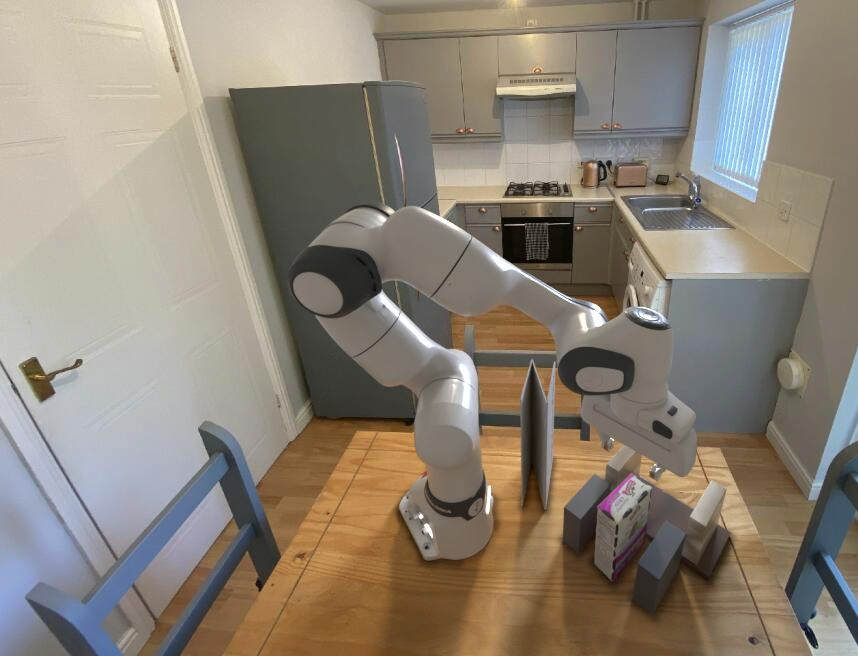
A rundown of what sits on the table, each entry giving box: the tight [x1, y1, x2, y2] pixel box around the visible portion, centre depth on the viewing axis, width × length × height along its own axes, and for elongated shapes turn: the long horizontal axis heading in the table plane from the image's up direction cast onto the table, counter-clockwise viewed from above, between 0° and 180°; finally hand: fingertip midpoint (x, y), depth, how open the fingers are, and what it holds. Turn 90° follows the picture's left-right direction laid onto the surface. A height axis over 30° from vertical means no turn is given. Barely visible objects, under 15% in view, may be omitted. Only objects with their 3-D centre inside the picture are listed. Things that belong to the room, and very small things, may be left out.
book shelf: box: [604, 444, 732, 581], centre depth 89 cm, size 26×12×12 cm, turn 46°
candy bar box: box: [593, 473, 652, 583], centre depth 81 cm, size 11×5×16 cm, turn 131°
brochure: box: [519, 358, 556, 511], centre depth 95 cm, size 14×6×30 cm, turn 168°
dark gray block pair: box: [562, 473, 686, 616], centre depth 82 cm, size 20×11×10 cm, turn 46°
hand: (630, 461), depth 75 cm, fingers open, 8 cm apart
